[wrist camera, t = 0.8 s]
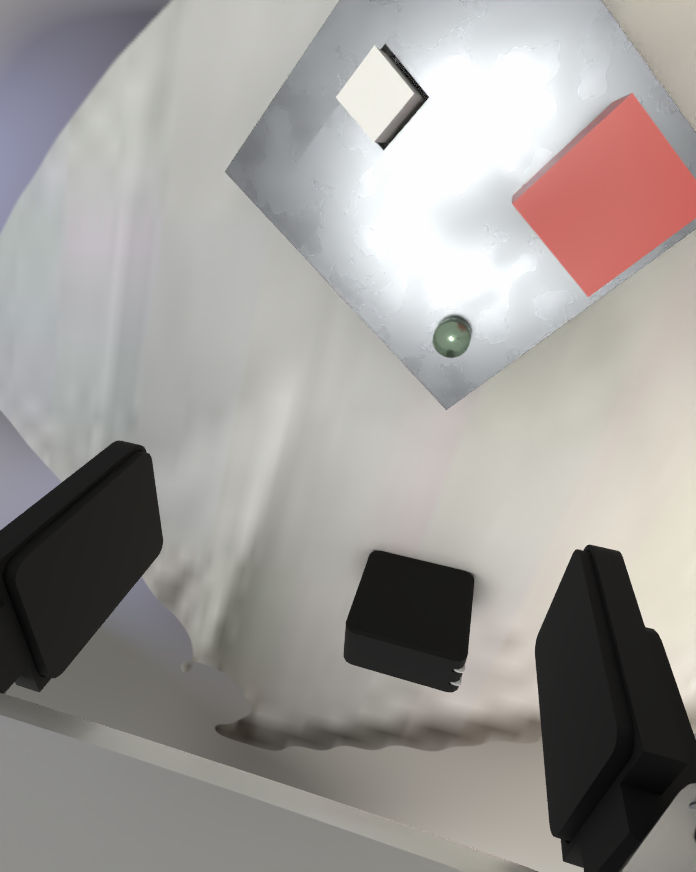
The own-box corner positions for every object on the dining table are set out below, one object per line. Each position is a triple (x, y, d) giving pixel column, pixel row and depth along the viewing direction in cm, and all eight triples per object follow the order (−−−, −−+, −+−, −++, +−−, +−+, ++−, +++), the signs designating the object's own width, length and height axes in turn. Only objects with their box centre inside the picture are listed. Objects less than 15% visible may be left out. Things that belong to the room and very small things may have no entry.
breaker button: (390, 56, 29) (374, 44, 25) (425, 99, 29) (414, 93, 26) (355, 102, 30) (335, 97, 27) (389, 142, 31) (373, 142, 28)
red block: (613, 101, 26) (632, 92, 22) (682, 196, 27) (713, 204, 23) (512, 195, 29) (512, 203, 25) (577, 276, 30) (588, 297, 26)
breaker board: (470, -156, 25) (463, -205, 21) (721, 191, 29) (749, 198, 25) (245, 170, 35) (215, 172, 32) (450, 393, 39) (444, 417, 36)
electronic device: (371, 548, 49) (342, 629, 41) (475, 572, 47) (467, 663, 39) (368, 578, 51) (340, 662, 43) (467, 603, 49) (458, 696, 41)
